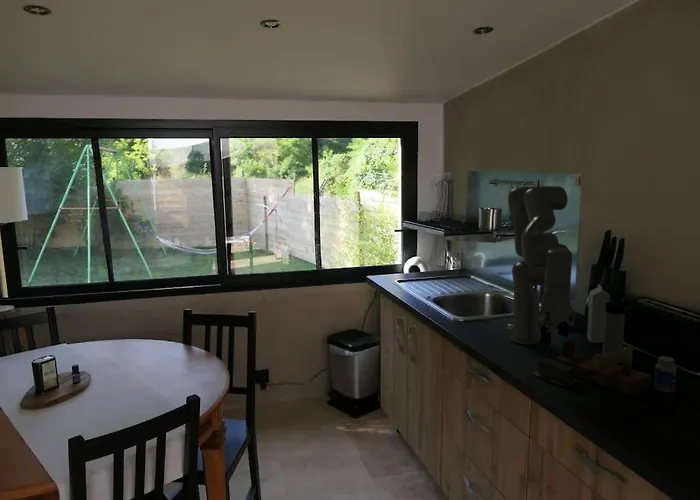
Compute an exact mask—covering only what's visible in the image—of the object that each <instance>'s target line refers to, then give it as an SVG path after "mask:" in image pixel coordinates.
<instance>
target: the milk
mask: <svg viewBox="0 0 700 500" xmlns="http://www.w3.org/2000/svg"><path fill="white" fill-rule="evenodd" d="M609 302H611V295H610V294H609V293H608V292H607V291H606V290H604V289H603V286H601V284H599V283H598V284H597V287H596V288H594V289H592V290H590V291H589V295H588V316H587V334H586V335H587V336H586V337H587V340H588V341H589V342H590V343H591V344H592V343H594V344H603V335H604V317H605V305H606V303H609Z"/></svg>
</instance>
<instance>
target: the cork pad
mask: <svg viewBox="0 0 700 500" xmlns="http://www.w3.org/2000/svg"><path fill="white" fill-rule="evenodd" d="M531 375H532V376H534V377H537V378H540V379H543V380H546V381H549V382H551V383H554V384H557V385H559V386H562V387H564V388H567V387H569V386H571V385H573V384H575V383H577V379H575V381H573V382H571V383H569V384H564V383H561V382H559V381H556V380H553V379H550V378H547V377H545V376H542V375H539V374H538V369H537V370H535V371H533V372H531Z"/></svg>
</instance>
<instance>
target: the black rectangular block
mask: <svg viewBox="0 0 700 500" xmlns="http://www.w3.org/2000/svg"><path fill="white" fill-rule="evenodd" d="M575 368H576V367H574V366H571V365H567V364H564V363H561V362H558V361H555V360H554V359H551V358H550V357H545V358H543V359H541V360H538V369H537V370H538V374H539V375H542V376H545V377H547V378H550V379H553V380H556V381H559V382H561V383H564V384H569V383H571V382H573V381H575V380H576V376H575Z"/></svg>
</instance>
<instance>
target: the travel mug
mask: <svg viewBox="0 0 700 500" xmlns="http://www.w3.org/2000/svg"><path fill="white" fill-rule="evenodd" d="M627 305H628V304H627V303H626V302H625V301H610V302H609V303H606V305H605V317H604V335H603V343H602V352H601V354H605V353H609V352H613V351H616V350H620V349H624V336H625V332H624V331H625V323H626V322H625V320H626V306H627Z"/></svg>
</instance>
